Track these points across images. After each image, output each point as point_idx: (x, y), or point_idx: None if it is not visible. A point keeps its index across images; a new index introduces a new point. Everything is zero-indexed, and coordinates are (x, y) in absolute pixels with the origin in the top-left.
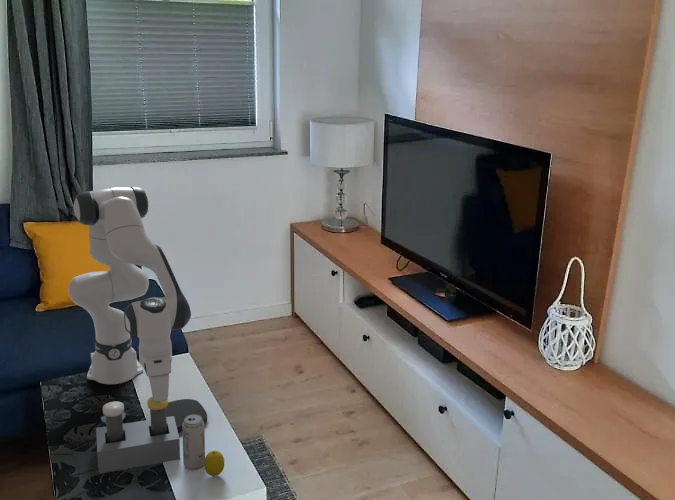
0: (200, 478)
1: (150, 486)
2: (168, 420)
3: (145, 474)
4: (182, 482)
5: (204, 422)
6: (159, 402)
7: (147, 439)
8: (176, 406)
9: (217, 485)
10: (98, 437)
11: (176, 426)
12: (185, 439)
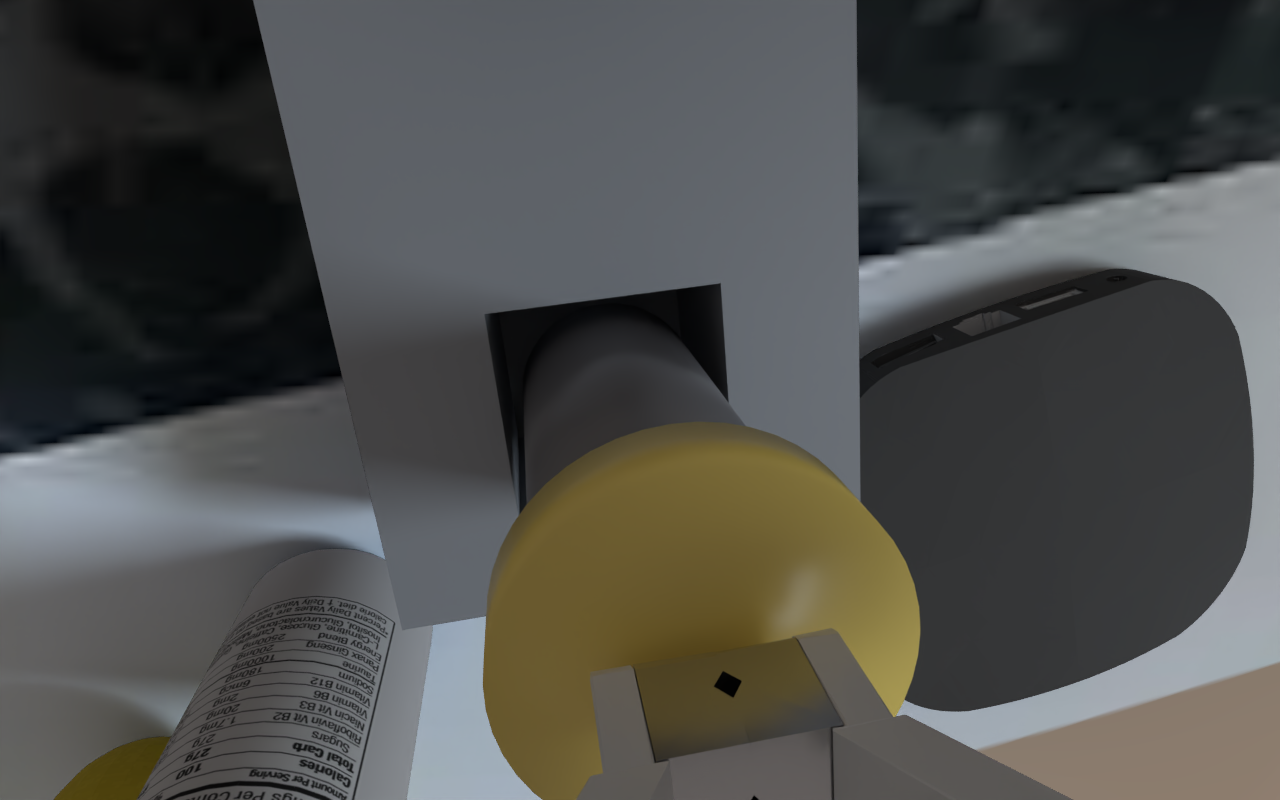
0: (151, 661)
1: (28, 266)
2: None
3: (224, 214)
4: (94, 533)
5: None
6: None
7: (423, 282)
8: (1153, 485)
9: (56, 776)
10: None
11: None
12: (148, 793)
